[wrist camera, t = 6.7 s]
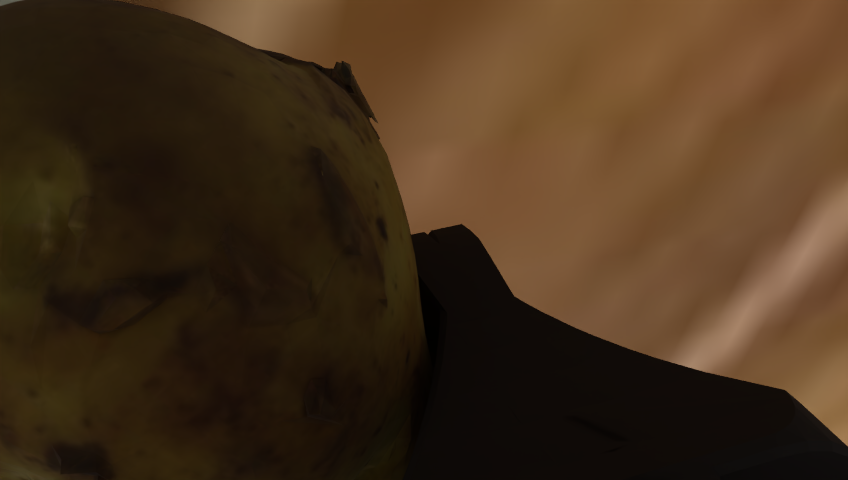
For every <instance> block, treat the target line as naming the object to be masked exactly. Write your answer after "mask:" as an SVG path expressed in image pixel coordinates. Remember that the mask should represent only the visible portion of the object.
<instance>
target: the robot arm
mask: <svg viewBox="0 0 848 480" xmlns="http://www.w3.org/2000/svg"><path fill="white" fill-rule="evenodd" d="M411 239H412V244H413V249H414V254H415V260H416V267H417V274H418V281H419V290H420V300H421V309H422V316H423V322H424V328H425V334H426V339H427V343H428V348H429V353H430V357H431V362H432V366H433V378H432V383H431V388H430V393H429V397H428V401H427V405H426V409H425V413H424V416H423V420H422V423H421V427H420V430H419V434H418V437H417V441H416V444H415V447H414V450H413V453H412V456H411V459H410V462H409V464H408V467H407V470H406V472H405V475H404V478H403V480H848V446H846V445H845V444H844V443H843V442H842V441H841V440H840V439H839V438H838V437H837V436H836V435H835V434H833V433H832V432H831V431H830V430H829V429H828V428H827V427H826V426H825V425H824V424H823V423H822V422H820V421H819V420H818V419H817V418H816V417H815V416H814V415H813V414H812V413H811V412H810V411H808V410H807V409H806V408H805V407H804V406H803V405H802V404H801V403H800V402H798V401H797V400H796V399H795V398H794V397H793V396H791V395H790V394H789V393H788V392H787V391H785V390H782V389H778V388H773V387H769V386H764V385H760V384H755V383H751V382H746V381H742V380H738V379H733V378H729V377H724V376H720V375H715V374H711V373H706V372H703V371H699V370H695V369H692V368H688V367H685V366H681V365H678V364H675V363H671V362H668V361H664V360H661V359H657V358H654V357H651V356H648V355H645V354H642V353H639V352H636V351H633V350H630V349H627V348H625V347H622V346H619V345H617V344H614V343H612V342H609V341H606V340H604V339H601V338H598V337H596V336H593V335H591V334H588V333H586V332H584V331H581V330H579V329H577V328H574V327H572V326H570V325H568V324H566V323H564V322H562V321H560V320H558V319H556V318H553V317H551V316H549V315H547V314H545V313H543V312H541V311H539V310H537V309H535V308H534V307H532V306H530V305H528V304H526V303H525V302H523V301H521V300H519V299H518V298H516V297H514V295H513V294H512V292H511V290H510V289H509V287H508V285H507V284H506V282H505V280H504V279H503V277H502V275H501V274H500V272H499V270H498V269H497V267H496V265H495V264H494V262H493V260H492V259H491V257H490V256H489V254H488V252H487V251H486V249H485V248H484V246H483V244H482V243H481V241H480V240H479V238H478V237H477V236H476V235H475V234H474V233H473V232H471V231H470V230H469V229H468V228H466V227H465V226H464V225H462V224H460V225H455V226H451V227H446V228H441V229H437V230H432V231H431V232H430V233H429V234H426V233H425V232H422V233H418V234H413V235H411Z"/></svg>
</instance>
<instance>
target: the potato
mask: <svg viewBox="0 0 848 480" xmlns="http://www.w3.org/2000/svg"><path fill="white" fill-rule="evenodd" d="M369 117H370V118H371V117H372V118H373V120H374V121H375V122H377V120H376V118H375V117H374V114H373V112H372V110H371V108H370V106H369V105H368V103H367V101H366V99H365V97H364V95H363V94H362V92H361V90H360V88H359V86H358V84H357V82H356V80H355V78H354V76H353V74H352V72H351V66H350V64H348V63H346V62H344V61H342V63H339V62H336V64H335V67H334V69H328V68H323V67H322V66H320V65H318V64H316V63H314V62H306V61H302V60H297V59H294V58H292V57H289V56H287V55H284V54H281V53H276V52H272V51H267V50H261V49H256V48H254V47H251V46H249V45H247V44H245V43H243V42H240V41H238V40H236V39H234V38H232V37H230V36H227V35H225V34H223V33H221V32H219V31H217V30H214V29H212V28H210V27H208V26H205V25H203V24H200V23H198V22H195V21H193V20H190V19H187V18H184V17H181V16H177V15H174V14H170V13H167V12H164V11H160V10H157V9H153V8H148V7H143V6H139V5H134V4H130V3H125V2H120V1H112V0H22V1H17V2H12V3H9V4H5V5H2V6H0V480H403V478H404V475H405V472H406V470H407V467H408V464H409V462H410V459H411V456H412V453H413V450H414V447H415V444H416V441H417V437H418V434H419V430H420V427H421V423H422V420H423V416H424V413H425V409H426V405H427V401H428V397H429V393H430V388H431V383H432V378H433V366H432V362H431V357H430V353H429V348H428V343H427V339H426V334H425V328H424V322H423V316H422V309H421V300H420V290H419V281H418V274H417V267H416V260H415V254H414V249H413V244H412V239H411V234H410V228H409V224H408V220H407V217H406V213H405V209H404V206H403V202H402V199H401V195H400V192H399V189H398V186H397V183H396V180H395V177H394V174H393V171H392V168H391V165H390V162H389V159H388V156H387V154H386V152H385V150H384V148H383V147H382V145H381V143H380V141H379V139H380V138H379V136H378V134H377V132H376V131H375V129H374V127H373V126H372V124H371V123H370V120H369ZM377 123H378V122H377Z"/></svg>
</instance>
